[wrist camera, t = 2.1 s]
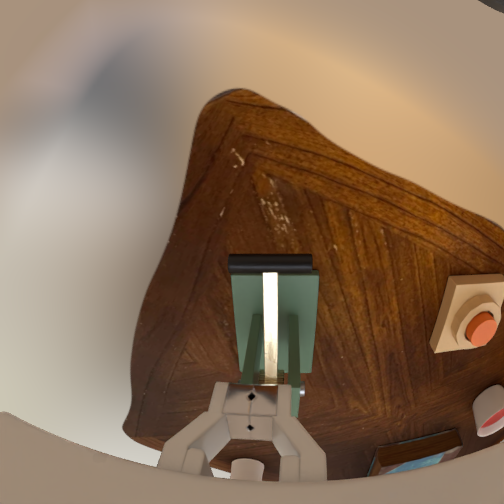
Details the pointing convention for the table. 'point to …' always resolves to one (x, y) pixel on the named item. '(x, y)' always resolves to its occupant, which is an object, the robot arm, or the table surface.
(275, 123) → the table surface
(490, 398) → the white round tub
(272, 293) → the lever handle
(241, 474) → the cup
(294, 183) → the table surface
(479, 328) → the button
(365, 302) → the table surface
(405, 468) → the book
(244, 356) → the green lever stand
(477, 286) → the call button
